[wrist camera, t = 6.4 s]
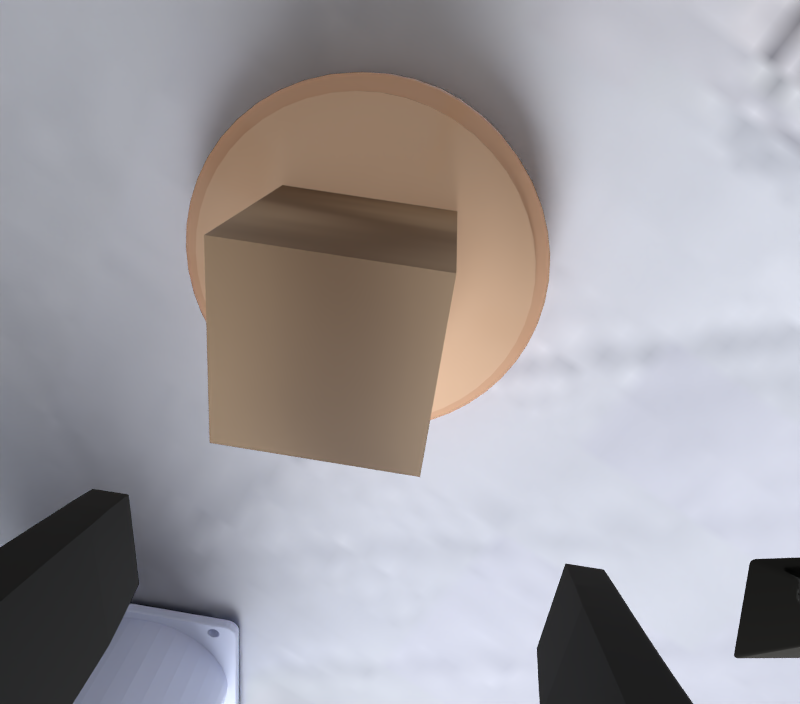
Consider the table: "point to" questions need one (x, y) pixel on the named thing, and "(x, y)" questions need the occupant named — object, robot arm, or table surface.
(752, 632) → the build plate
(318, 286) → the walnut block
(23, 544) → the robot arm
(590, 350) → the table surface
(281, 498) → the table surface
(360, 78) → the pedestal
